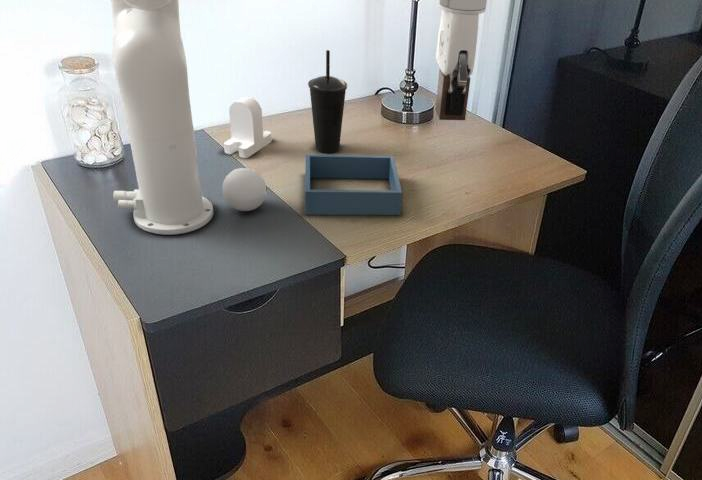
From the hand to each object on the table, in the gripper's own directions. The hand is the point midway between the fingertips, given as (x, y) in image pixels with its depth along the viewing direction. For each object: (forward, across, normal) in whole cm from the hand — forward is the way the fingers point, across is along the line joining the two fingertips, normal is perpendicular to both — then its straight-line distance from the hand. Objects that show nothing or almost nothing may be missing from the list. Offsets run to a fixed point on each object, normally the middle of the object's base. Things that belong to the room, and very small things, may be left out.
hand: (450, 107), depth 114 cm
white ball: (+16, +6, -36) cm, 40 cm away
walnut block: (+1, 0, 0) cm, 1 cm away
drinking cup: (+16, -18, -21) cm, 32 cm away
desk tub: (+16, +2, -17) cm, 24 cm away
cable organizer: (+16, -18, -37) cm, 44 cm away
